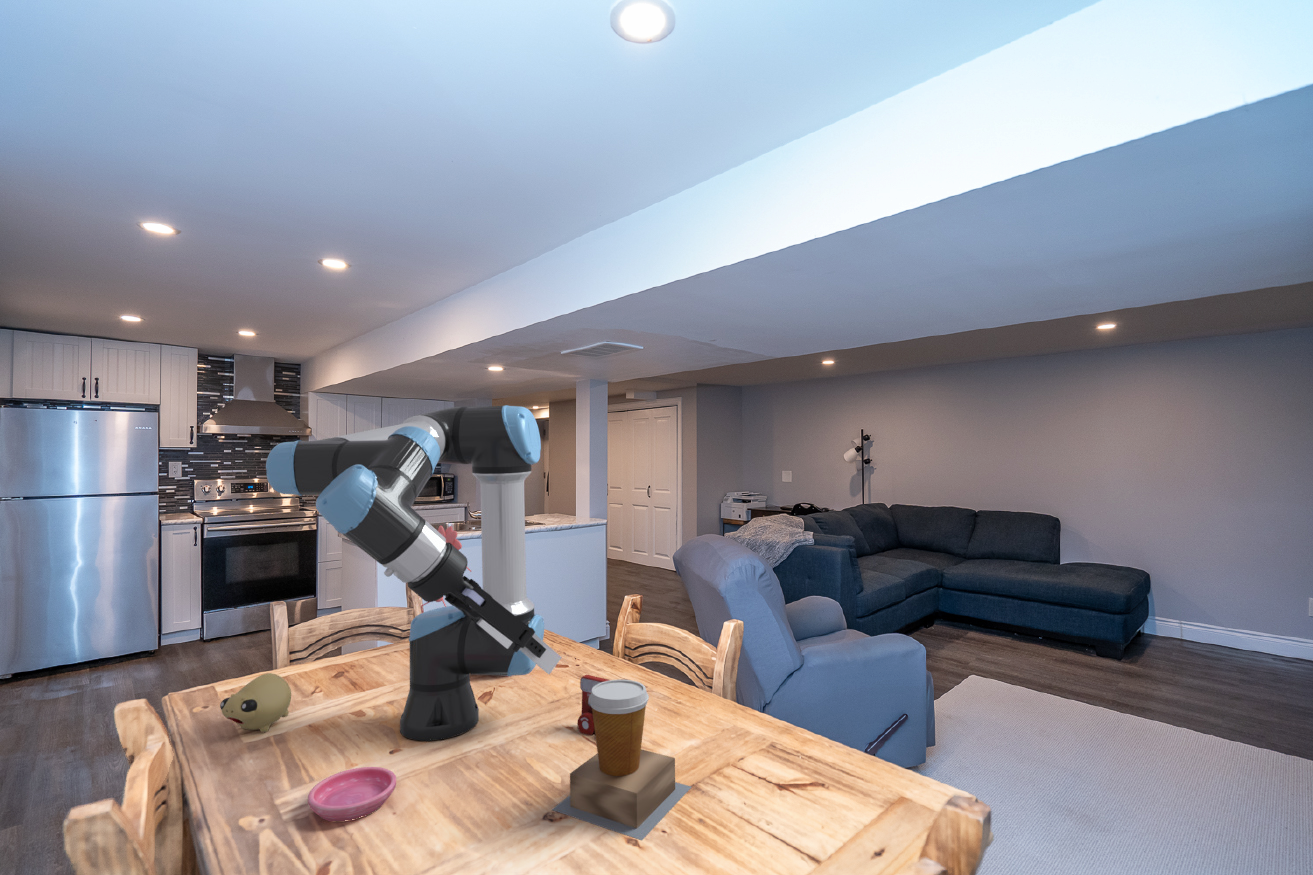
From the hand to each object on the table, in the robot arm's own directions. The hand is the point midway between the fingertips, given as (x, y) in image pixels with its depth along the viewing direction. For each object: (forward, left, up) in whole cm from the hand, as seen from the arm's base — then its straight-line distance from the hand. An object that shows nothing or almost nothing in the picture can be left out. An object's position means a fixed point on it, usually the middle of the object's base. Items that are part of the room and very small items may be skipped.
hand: (532, 652), depth 90 cm
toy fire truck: (-9, +32, -26) cm, 42 cm away
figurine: (-81, +57, -26) cm, 102 cm away
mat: (+7, +13, -26) cm, 30 cm away
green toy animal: (-72, 0, -26) cm, 76 cm away
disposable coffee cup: (+7, +13, -20) cm, 25 cm away
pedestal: (+7, +13, -25) cm, 29 cm away
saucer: (-30, -8, -26) cm, 40 cm away
